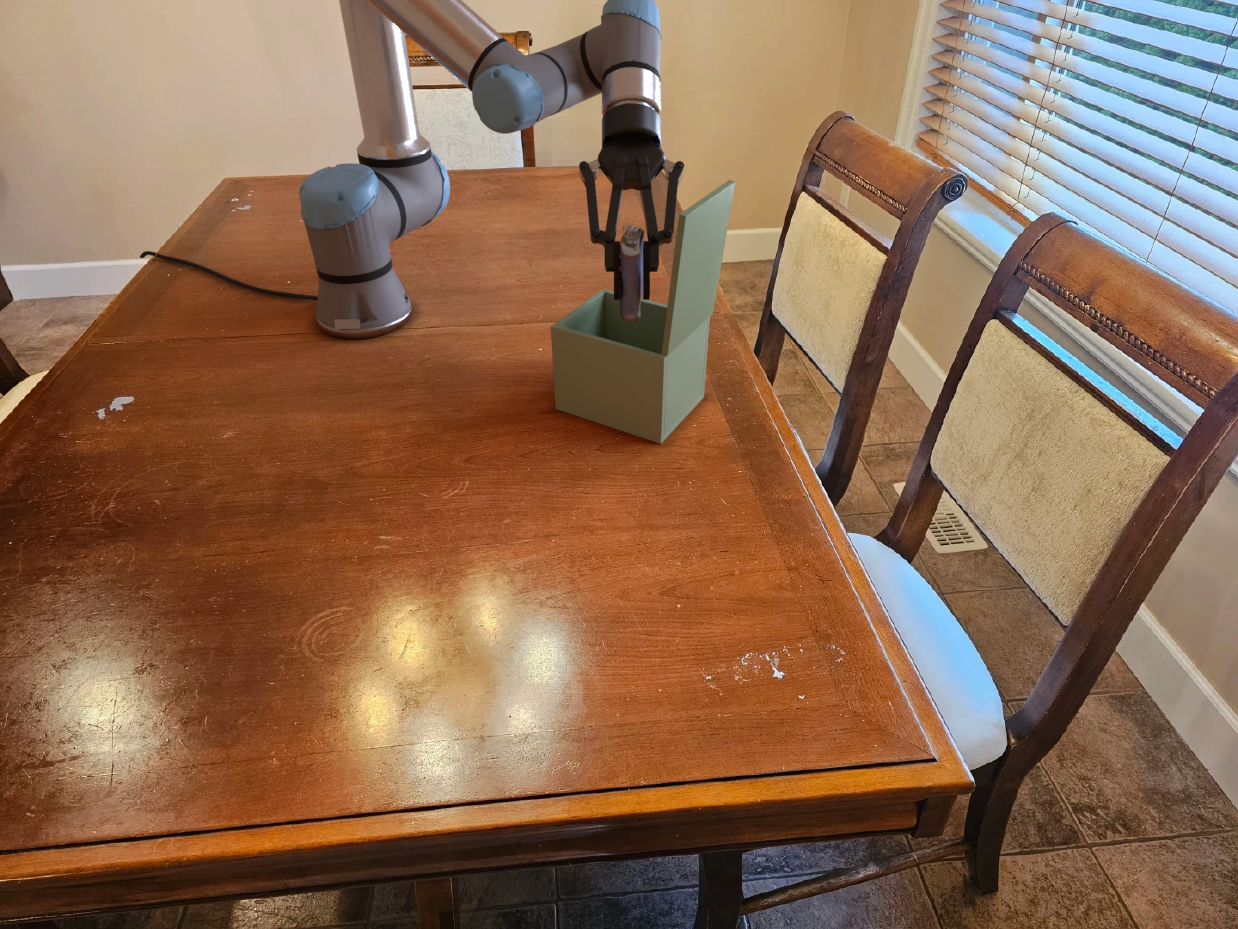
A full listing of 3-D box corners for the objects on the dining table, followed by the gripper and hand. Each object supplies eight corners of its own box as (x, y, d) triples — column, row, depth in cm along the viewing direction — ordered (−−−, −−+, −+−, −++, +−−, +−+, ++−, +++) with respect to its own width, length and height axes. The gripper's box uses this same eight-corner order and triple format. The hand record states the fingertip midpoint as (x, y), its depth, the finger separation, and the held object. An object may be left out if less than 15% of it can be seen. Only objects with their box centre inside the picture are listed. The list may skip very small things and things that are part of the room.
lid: (678, 214, 85) (685, 216, 84) (729, 179, 94) (735, 181, 93) (661, 354, 96) (667, 356, 96) (707, 311, 105) (713, 313, 105)
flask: (640, 323, 99) (641, 240, 92) (616, 322, 99) (616, 239, 93) (644, 291, 106) (645, 212, 100) (622, 290, 106) (621, 211, 100)
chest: (555, 409, 110) (550, 326, 103) (604, 367, 119) (602, 288, 112) (660, 444, 104) (664, 358, 96) (704, 397, 113) (710, 315, 105)
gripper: (692, 133, 104) (694, 306, 101) (570, 133, 104) (568, 306, 101) (697, 99, 97) (699, 285, 94) (566, 99, 97) (564, 285, 94)
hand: (631, 295), depth 97 cm, fingers closed on flask, 3 cm apart
